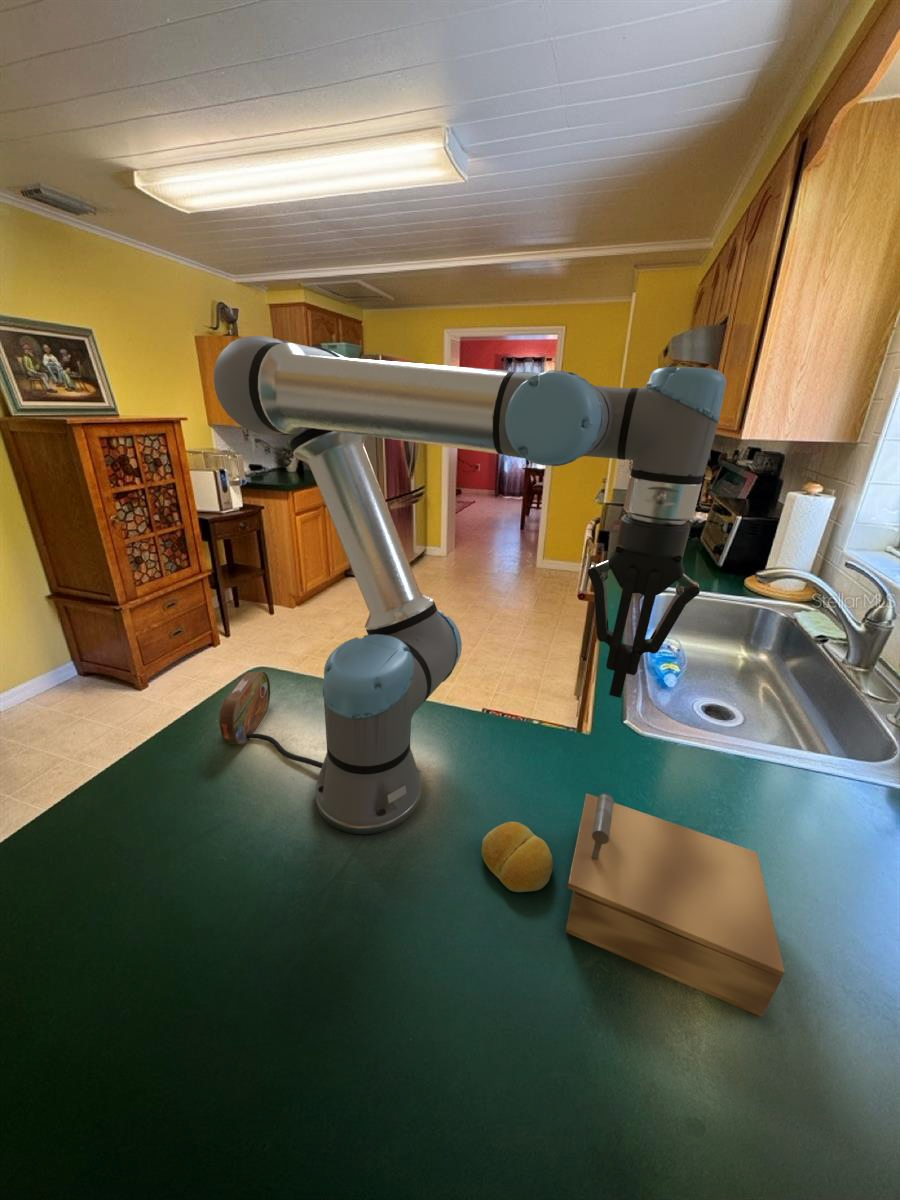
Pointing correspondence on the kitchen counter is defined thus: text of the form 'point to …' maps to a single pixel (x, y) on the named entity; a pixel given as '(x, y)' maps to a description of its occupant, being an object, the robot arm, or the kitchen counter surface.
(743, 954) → the bread box lid
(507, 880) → the bread roll
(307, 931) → the kitchen counter surface
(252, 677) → the tin
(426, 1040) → the kitchen counter surface
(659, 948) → the bread box
